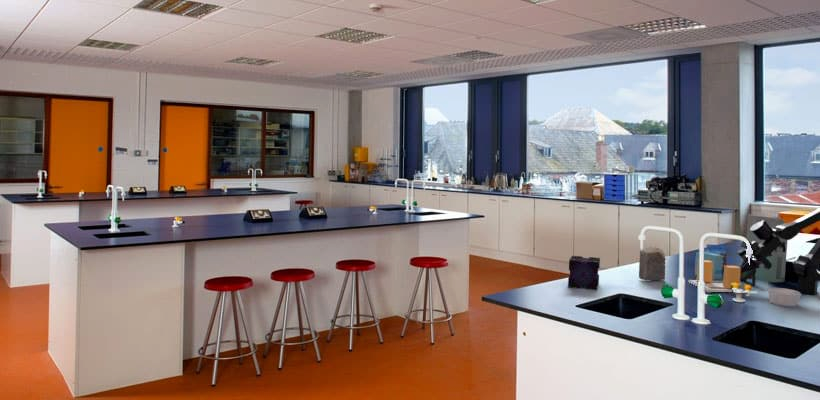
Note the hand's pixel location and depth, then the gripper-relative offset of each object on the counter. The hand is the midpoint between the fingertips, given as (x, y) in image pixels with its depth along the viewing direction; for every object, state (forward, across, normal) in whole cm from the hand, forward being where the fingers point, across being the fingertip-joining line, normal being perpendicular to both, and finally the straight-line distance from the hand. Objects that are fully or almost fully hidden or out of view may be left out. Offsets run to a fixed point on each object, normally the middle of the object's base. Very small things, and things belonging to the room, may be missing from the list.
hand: (738, 272), depth 266 cm
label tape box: (-5, -52, +17) cm, 55 cm away
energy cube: (+53, -3, -40) cm, 66 cm away
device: (-14, -29, +26) cm, 41 cm away
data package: (+6, -27, +6) cm, 28 cm away
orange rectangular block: (+7, 0, +3) cm, 7 cm away
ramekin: (+1, +20, +12) cm, 23 cm away
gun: (-4, -19, +16) cm, 25 cm away
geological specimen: (+27, -19, -15) cm, 36 cm away
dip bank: (+10, -6, +2) cm, 12 cm away
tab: (+11, -12, -2) cm, 16 cm away
